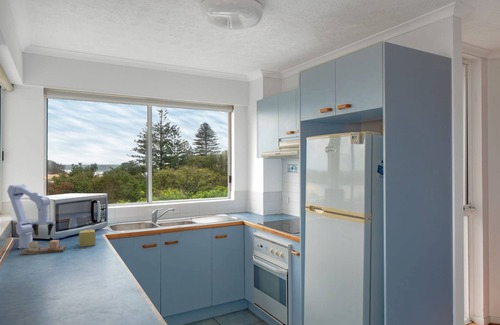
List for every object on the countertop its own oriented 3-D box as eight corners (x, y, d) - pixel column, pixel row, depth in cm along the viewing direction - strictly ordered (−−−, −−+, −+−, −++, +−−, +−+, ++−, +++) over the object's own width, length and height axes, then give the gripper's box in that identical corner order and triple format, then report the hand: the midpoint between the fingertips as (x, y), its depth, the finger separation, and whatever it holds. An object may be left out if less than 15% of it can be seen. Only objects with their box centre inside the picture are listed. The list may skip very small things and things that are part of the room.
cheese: (79, 243, 250) (79, 230, 250) (95, 242, 255) (95, 228, 255) (78, 247, 241) (78, 232, 241) (95, 245, 245) (95, 231, 245)
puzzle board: (25, 250, 231) (25, 248, 231) (65, 247, 238) (65, 245, 238) (20, 255, 220) (20, 252, 220) (62, 251, 228) (62, 249, 228)
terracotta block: (51, 249, 233) (51, 240, 233) (59, 249, 234) (59, 240, 234) (49, 251, 229) (49, 241, 229) (56, 251, 230) (56, 241, 229)
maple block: (30, 251, 229) (30, 241, 229) (38, 251, 230) (38, 241, 230) (28, 253, 225) (28, 243, 224) (36, 252, 226) (36, 242, 226)
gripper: (56, 214, 240) (56, 233, 241) (33, 214, 238) (33, 234, 238) (52, 215, 233) (53, 235, 234) (29, 216, 231) (29, 236, 231)
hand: (43, 235), depth 235 cm, fingers open, 7 cm apart
